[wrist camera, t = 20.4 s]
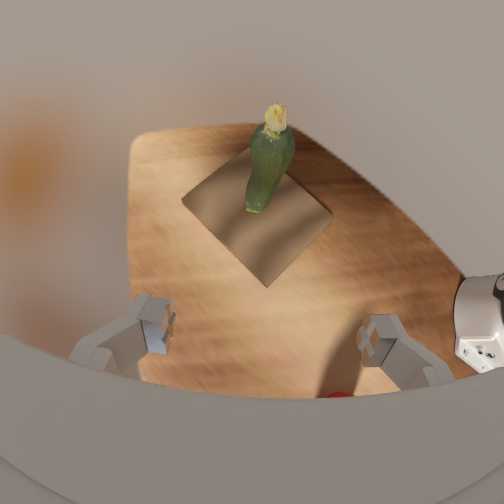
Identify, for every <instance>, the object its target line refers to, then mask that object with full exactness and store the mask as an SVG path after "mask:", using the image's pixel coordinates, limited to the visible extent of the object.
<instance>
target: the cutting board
mask: <svg viewBox="0 0 504 504" xmlns="http://www.w3.org/2000/svg"><path fill="white" fill-rule="evenodd" d="M251 171H252V159H251V151H250V147H248V148H247V149H246V150H244V151H243V152H241V153H240V154H239V155H237V156H236V157H235V158H233V159H232V160H231V161H229V162H228V163H226V164H225V165H224V166H222V167H221V168H220V169H218V170H217V171H216V172H215V173H213V174H212V175H211V176H209V177H208V178H207V179H205V180H204V181H203V182H202V183H200V184H199V185H198V186H197V187H195V188H194V189H193V190H192V191H190V192H189V193H188V194H187V195H185V196H184V197H183V198H182V199H181V200H182V203H183V204H184V205H185V206H186V207H187V208H188V209H189V210H190V211H191V212H192V213H193V214H194V216H195V217H196V218H197V219H198V220H199V221H200V222H201V223H202V224H203V225H204V226H205V227H206V228H207V229H208V230H209V231H210V232H211V233H212V234H213V235H214V236H215V237H216V238H217V239H218V240H219V241H220V242H221V243H222V244H223V245H224V246H225V247H226V248H227V249H228V250H229V251H230V252H231V253H232V254H233V255H234V256H235V257H236V258H237V259H238V260H239V261H240V262H241V263H242V264H243V265H244V266H245V267H246V268H247V269H248V270H249V271H250V272H251V273H252V274H253V275H254V276H255V277H256V278H257V279H258V280H259V281H260V282H261V283H262V284H263V285H264V286H265V287H268V286H269V285H270V284H271V283H272V282H273V281H274V280H275V279H276V278H277V277H278V276H279V275H280V274H281V273H282V272H283V271H284V270H285V269H286V268H287V267H288V266H289V265H290V264H291V263H292V262H293V261H294V260H295V259H296V258H297V257H298V256H299V255H300V254H301V253H302V252H303V251H304V250H305V249H306V248H307V247H308V246H309V245H310V243H311V242H312V241H313V240H314V239H315V238H316V237H317V236H318V235H319V234H320V233H321V232H322V231H323V230H324V229H325V228H326V227H327V226H328V224H329V223H330V222H331V221H332V220H333V219H334V218H335V217H334V216H333V215H332V214H330V213H329V212H328V211H327V210H326V209H325V208H324V207H323V206H322V205H321V204H320V203H319V202H318V201H316V200H315V199H314V198H313V197H312V196H311V195H310V194H309V193H308V192H306V191H305V190H304V189H303V188H302V187H301V186H300V185H299V184H297V183H296V182H295V181H294V180H293V179H292V178H290V177H289V176H288V175H287V174H286V173H285V174H284V175H283V176H282V178H281V180H280V182H279V184H278V186H277V189H276V191H275V193H274V195H273V197H272V199H271V201H270V202H269V204H268V206H267V207H266V208H265V209H264V210H262V211H261V212H259V213H255V212H249V211H246V207H247V206H246V203H245V202H246V201H245V194H246V187H247V183H248V180H249V178H250V175H251Z"/></svg>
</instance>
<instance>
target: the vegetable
mask: <svg viewBox="0 0 504 504" xmlns="http://www.w3.org/2000/svg"><path fill="white" fill-rule="evenodd" d="M264 119H265V122H266V123H263V124H262V125H260V126H259V127H258V128H257V129H256V131H255V132H254V134H253V136H252V138H251V143H250V151H251V159H252V171H251V175H250V178H249V180H248V183H247V187H246V194H245V201H246V202H245V203H246V206H247V207H246V211H249V212H255V213H259V212H261V211H262V210H264V209H265V208H266V207H267V206H268V204H269V202H270V201H271V199H272V197H273V195H274V193H275V191H276V189H277V186H278V184H279V182H280V180H281V178H282V176H283V175H284V174H285V172H286V171H287V169H288V167H289V166H290V164H291V162H292V159H293V157H294V153H295V147H296V146H295V138H294V135H293V132H292V131H291V129H290V128H289V127H287V126H286V125H287V123H286V109H285V106H283V105H282V104H281V103H278V102H277V104H274V105H272V106H271V107H269V108H268V109H267V111H266V113H265V115H264Z"/></svg>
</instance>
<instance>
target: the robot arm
mask: <svg viewBox="0 0 504 504" xmlns="http://www.w3.org/2000/svg"><path fill="white" fill-rule="evenodd" d="M174 307H175V302H174V299H173V298H169V297H163V296H157V295H150V294H145V293H139V294H138V295H137V296H136V298H135V300H134V301H133V303H132V305H131V307H130V309H129V310H128V312H127V314H126V316H125V317H120V318H118V319H116V320H115V321H113V322H111V323H109V324H107V325H105V326H104V327H102V328H100V329H98V330H96V331H95V332H93V333H91V334H89V335H87V336H85V337H84V338H82V339H80V340H79V341H78V343H77V344H76V346H75V348H74V350H73V351H72V353H71V354H70V356H69V358H68V360H67V359H64V358H61V357H59V356H56V355H53V354H51V353H48V352H46V351H43V350H41V349H38V348H36V347H34V346H31V345H29V344H26V343H24V342H22V341H20V340H18V339H16V338H14V337H12V336H10V335H7V334H1V335H0V504H504V273H503V274H498V275H492V276H484V277H468V278H467V279H465V280H464V281H463V283H462V284H461V286H460V287H459V290H458V292H457V295H456V300H455V306H454V323H455V330H456V342H455V353H456V355H457V356H458V357H460V358H461V359H462V360H463V361H465V362H466V363H467V364H468V365H470V366H471V367H472V368H473V369H475V370H476V371H477V372H478V373H480V374H477V375H474V376H470V377H466V378H463V379H459V380H455V379H454V377H453V375H452V373H451V371H450V369H449V367H448V365H447V363H446V362H444V361H443V360H442V359H440V358H439V357H438V356H436V355H435V354H433V353H432V352H431V351H429V350H428V349H427V348H425V347H424V346H423V345H421V344H420V343H418V342H417V341H416V340H414V339H413V338H409V336H408V334H407V333H406V331H405V329H404V327H403V325H402V323H401V322H400V320H399V318H398V316H397V315H396V314H366V315H365V316H364V318H363V320H362V322H363V326H361V327H360V328H359V329H358V332H357V334H356V345H357V348H358V349H359V350H360V351H361V352H362V353H361V355H360V357H361V360H362V363H363V366H364V367H380V368H381V369H382V370H383V371H384V372H385V373H386V375H387V376H388V377H389V378H390V379H391V380H392V381H393V382H394V383H395V384H396V385H397V386H398V387H399V388H400V389H401V390H402V391H398V392H391V393H383V394H375V395H365V396H353V397H337V398H263V397H247V396H235V395H225V394H216V393H207V392H200V391H193V390H186V389H180V388H174V387H169V386H164V385H158V384H154V383H149V382H144V381H140V380H135V379H131V378H127V377H123V376H121V375H122V374H123V373H124V372H126V371H127V370H128V369H129V368H130V367H131V366H133V365H134V364H135V363H136V362H137V361H139V360H140V359H141V358H142V357H143V356H145V355H146V354H147V352H151V353H157V354H164V355H167V353H168V350H169V347H170V344H171V341H170V337H172V336H173V335H174V332H175V327H176V314H175V313H174V312H173V310H174Z"/></svg>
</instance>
